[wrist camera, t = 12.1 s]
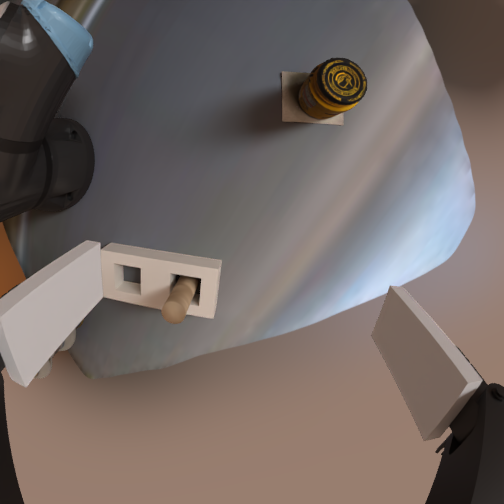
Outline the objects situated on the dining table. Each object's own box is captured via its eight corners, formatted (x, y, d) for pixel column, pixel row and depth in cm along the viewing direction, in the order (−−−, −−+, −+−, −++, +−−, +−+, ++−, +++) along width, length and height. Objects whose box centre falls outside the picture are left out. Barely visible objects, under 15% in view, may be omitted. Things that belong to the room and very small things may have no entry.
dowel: (179, 287, 44) (161, 321, 34) (180, 269, 43) (161, 301, 34) (198, 290, 44) (184, 325, 35) (199, 272, 43) (185, 305, 34)
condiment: (343, 125, 36) (376, 116, 24) (282, 121, 36) (292, 108, 24) (342, 77, 33) (373, 51, 22) (281, 72, 33) (291, 41, 22)
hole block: (112, 287, 44) (103, 297, 41) (110, 242, 42) (100, 249, 38) (216, 306, 45) (213, 318, 42) (221, 260, 42) (218, 269, 39)
